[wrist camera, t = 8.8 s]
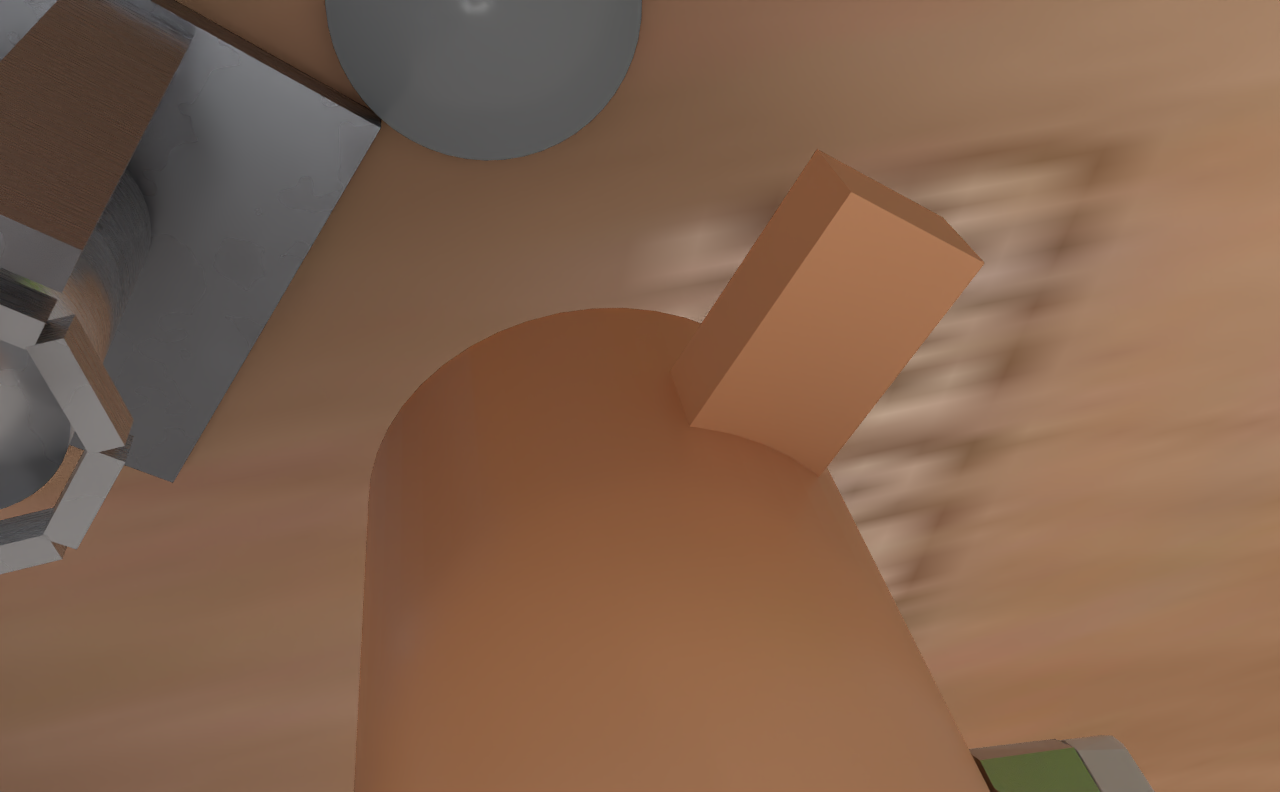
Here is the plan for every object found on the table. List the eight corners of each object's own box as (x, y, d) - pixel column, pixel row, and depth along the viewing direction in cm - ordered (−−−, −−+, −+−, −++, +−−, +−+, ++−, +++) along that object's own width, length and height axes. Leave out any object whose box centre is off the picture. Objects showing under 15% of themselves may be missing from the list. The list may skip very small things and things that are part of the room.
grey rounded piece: (534, 202, 36) (536, 210, 36) (271, 54, 32) (269, 61, 32) (697, -42, 33) (702, -37, 32) (425, -241, 29) (426, -238, 28)
